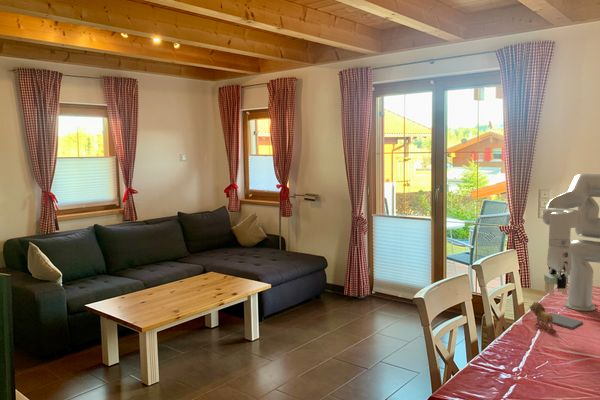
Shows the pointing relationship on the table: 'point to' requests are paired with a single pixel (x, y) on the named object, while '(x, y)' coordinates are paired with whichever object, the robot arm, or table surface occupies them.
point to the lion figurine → (542, 315)
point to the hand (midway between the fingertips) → (557, 285)
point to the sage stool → (550, 282)
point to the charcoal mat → (565, 321)
